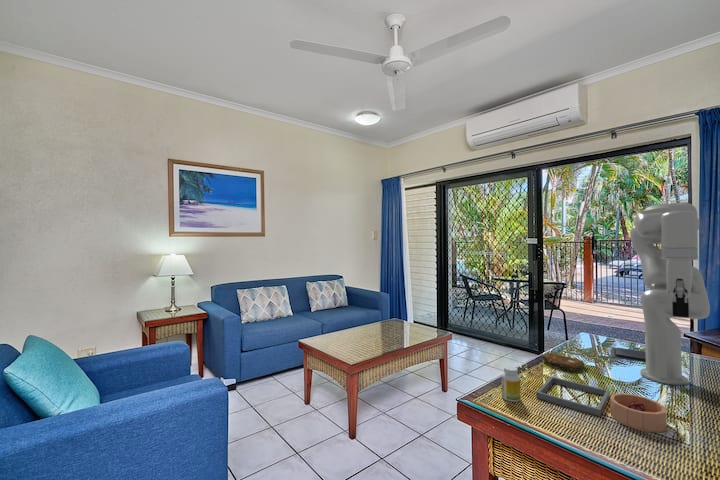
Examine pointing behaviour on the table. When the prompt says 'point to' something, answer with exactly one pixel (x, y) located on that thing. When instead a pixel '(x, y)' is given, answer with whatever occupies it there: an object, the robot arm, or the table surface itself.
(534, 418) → the table surface
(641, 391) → the table surface
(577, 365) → the decorative rock
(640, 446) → the table surface
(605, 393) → the grey flat square frame
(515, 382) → the supplement bottle
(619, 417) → the bowl
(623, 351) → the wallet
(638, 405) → the dice
